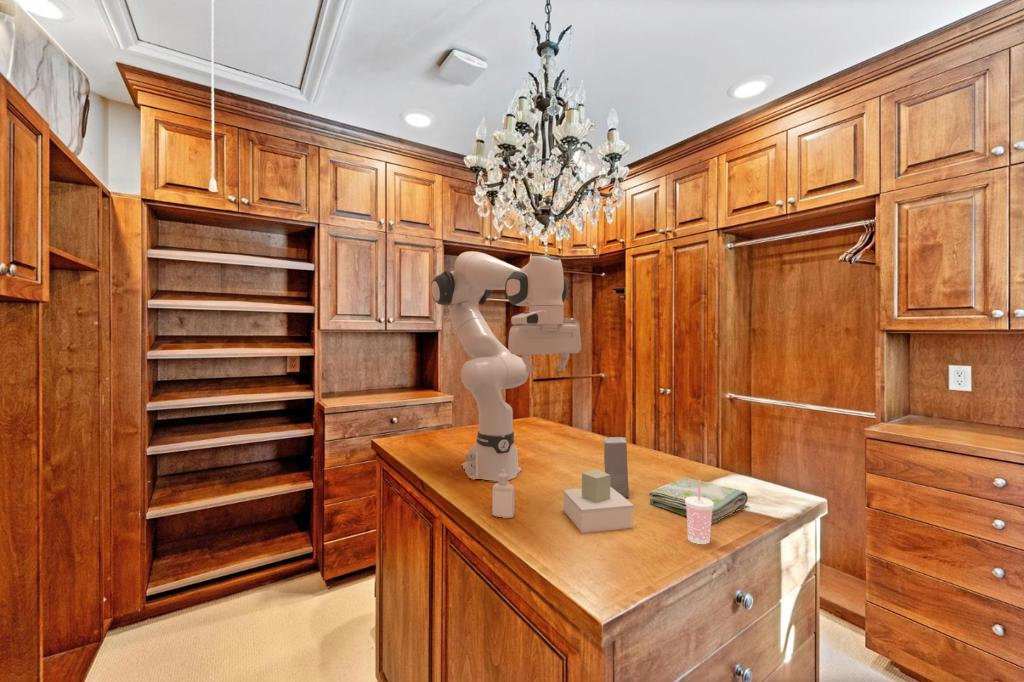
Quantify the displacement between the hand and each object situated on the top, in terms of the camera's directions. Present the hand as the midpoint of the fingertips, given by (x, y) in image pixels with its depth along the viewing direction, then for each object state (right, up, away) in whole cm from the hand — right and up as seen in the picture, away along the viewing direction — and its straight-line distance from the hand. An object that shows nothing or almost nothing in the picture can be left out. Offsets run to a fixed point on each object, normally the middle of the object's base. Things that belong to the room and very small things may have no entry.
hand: (545, 371), depth 115 cm
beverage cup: (+34, -38, -13) cm, 52 cm away
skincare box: (+22, -37, +17) cm, 46 cm away
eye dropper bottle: (-11, -37, 0) cm, 39 cm away
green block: (+13, -32, -2) cm, 34 cm away
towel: (+42, -38, +8) cm, 57 cm away
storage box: (+13, -38, -2) cm, 40 cm away
